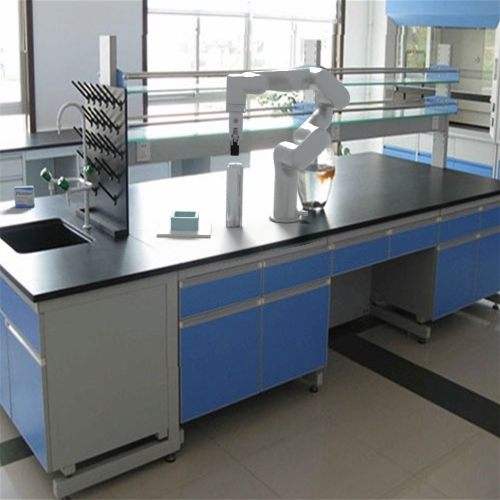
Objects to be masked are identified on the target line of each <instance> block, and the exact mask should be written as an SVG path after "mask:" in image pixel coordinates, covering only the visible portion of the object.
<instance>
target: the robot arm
mask: <svg viewBox="0 0 500 500" xmlns="http://www.w3.org/2000/svg"><path fill="white" fill-rule="evenodd" d="M225 90H226V91H225V113H228V133H229V139H230V141H229V142H230V143H229V144H230V147H229V148H230V149H229V151H230V156H232V157H238V156H240V144H239V139H240V140H243V135H244V134H243V132H244V131H243V129H244V114H245V113H246V112H247V95H254V96H255V95H256V96H260V95H263V94H265V93H266V92H267V91H270V92H271V91H272V92H273V91H274V92H279V93H289V92H290V93H291V92H297V91H299V92H300V91H308V90H311V91H316V92H315V95H314V96H315V106H314V110H313V112H312V114H310V116H309V117H308V118H307V119H306V120H305V121H304V122H303V123H302V124H301V125H300V126H299V127H298V128H297V129H296V130H295V132H294V134H293V141H294V143H293V142H289V141H283V142H279V143H277V144H276V145H275V147H274V149H273V155H272V156H273V157H272V159H273V165H274V183H273V184H274V185H273V186H274V187H273V208H272V209H273V210H272V211H273V212H272V213H270V214H269V216H268V217H269V220H271V221H273V222H277V223H281V224H282V223H283V224H287V223H289V224H290V223H292V224H293V223H297V222H299V221H300V220H301V216H305V217H306V216H307V217H308V215H309V211H308V210H304V209H298V207H297V205H298V186H299V173H298V171H303V170H305V169H307V168H308V167H309V166H310V165H311V164H312V163H313V162H314V161H315V160H316V159H317V158H318V157H320V155H321V154H322V153H323V152H324V151H325V149H326V148H327V147H328V144H329V141H330V136H329V133H328V132H327V129H328V128H329V127H330V126H331V124H332V122H333V117H334V116H333V114H334V110H335V109H336V110H343V109H345V108H347V107H348V106H349V104H350V101H351V95H350V92H349V91H348V89H347V88H346V87H345V86H344V85H343V83H342V82H340V80H338V78H337V77H336V76H335V75H334V73H332V72H331V71H329V70H328V69H327V68H326V69H325V68H319V67H310V66H309V67H302V68H301V67H300V68H299V67H298V68H288V69H276V70H260V71H259V70H258V71H247V72H243V73H241V74H239V73H237V74H236V73H234V74H228V75H227V76H226V88H225Z"/></svg>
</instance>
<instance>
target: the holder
mask: <svg viewBox="0 0 500 500" xmlns="http://www.w3.org/2000/svg"><path fill="white" fill-rule="evenodd" d="M170 214H171V215H170V219H166V218H164V219H163V218H162V219H160V222H159V225H158V229H157V232H156V237H158V238H159V237H161V238H163V237H165V238H168V237H169V238H175V237H179V238H211V232H212V219H200V211H196V210H172V211H171V213H170Z"/></svg>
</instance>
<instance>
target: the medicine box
mask: <svg viewBox="0 0 500 500" xmlns="http://www.w3.org/2000/svg"><path fill="white" fill-rule="evenodd" d="M13 191H14V192H13V193H14V194H13V195H14V207H15V209H25V208H26V209H27V208H28V209H29V208H35V207H36V205H35V203H36V202H35V201H36V199H35V187H34V185H14V186H13Z"/></svg>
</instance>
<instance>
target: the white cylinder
mask: <svg viewBox="0 0 500 500" xmlns="http://www.w3.org/2000/svg"><path fill="white" fill-rule="evenodd" d="M225 181H226V184H225V186H226V187H225V189H226V191H225V192H226V193H225V226H226V227H227V228H230V229H239V228H241V227H243V208H244V207H243V203H244V202H243V199H244V165H243V163H241V162H229V163H228V164H227V165H226V179H225Z"/></svg>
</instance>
